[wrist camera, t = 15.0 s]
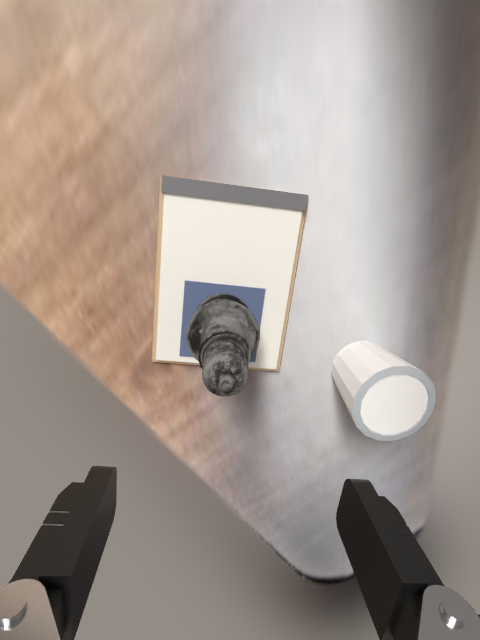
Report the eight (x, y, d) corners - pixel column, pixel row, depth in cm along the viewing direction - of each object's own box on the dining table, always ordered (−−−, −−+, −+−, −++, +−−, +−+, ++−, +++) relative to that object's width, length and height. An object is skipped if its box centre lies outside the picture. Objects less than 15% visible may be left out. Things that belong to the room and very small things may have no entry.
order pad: (161, 176, 27) (159, 175, 26) (307, 196, 28) (310, 195, 27) (152, 360, 32) (150, 364, 31) (278, 370, 33) (280, 374, 32)
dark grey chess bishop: (268, 325, 30) (300, 393, 19) (218, 365, 31) (220, 452, 20) (226, 276, 29) (233, 317, 17) (175, 319, 30) (149, 385, 18)
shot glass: (380, 402, 35) (419, 447, 28) (316, 392, 34) (341, 436, 27) (402, 340, 33) (450, 373, 26) (336, 328, 32) (368, 359, 25)
